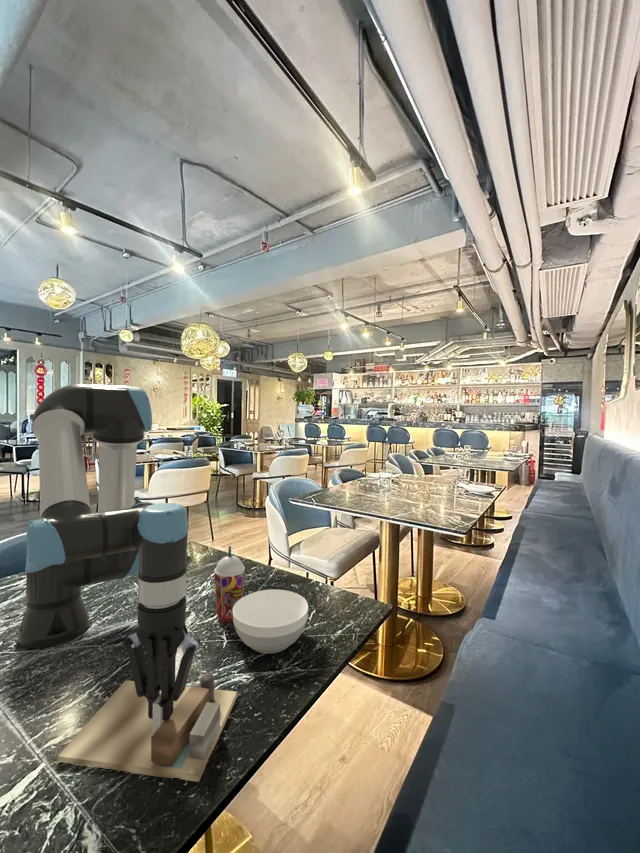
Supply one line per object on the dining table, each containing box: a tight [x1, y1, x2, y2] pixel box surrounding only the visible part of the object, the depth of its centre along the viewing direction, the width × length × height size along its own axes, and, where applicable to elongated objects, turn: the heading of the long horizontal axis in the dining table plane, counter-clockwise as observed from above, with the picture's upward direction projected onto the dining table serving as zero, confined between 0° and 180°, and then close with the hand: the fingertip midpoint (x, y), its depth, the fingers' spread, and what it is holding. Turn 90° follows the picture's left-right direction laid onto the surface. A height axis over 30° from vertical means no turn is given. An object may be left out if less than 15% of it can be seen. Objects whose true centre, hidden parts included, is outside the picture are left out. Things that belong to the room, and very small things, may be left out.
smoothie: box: [213, 545, 246, 623], centre depth 108 cm, size 8×8×20 cm
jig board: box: [57, 673, 238, 783], centre depth 71 cm, size 24×18×6 cm
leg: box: [151, 685, 209, 766], centre depth 67 cm, size 12×4×4 cm, turn 167°
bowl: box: [233, 589, 309, 655], centre depth 98 cm, size 19×19×9 cm
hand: (160, 735), depth 66 cm, fingers closed
